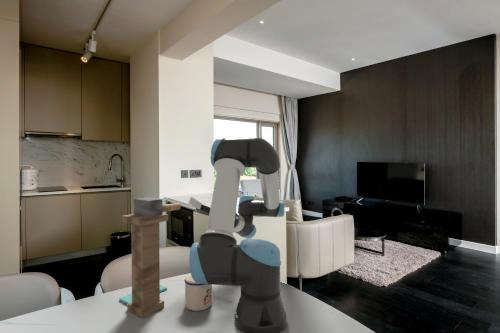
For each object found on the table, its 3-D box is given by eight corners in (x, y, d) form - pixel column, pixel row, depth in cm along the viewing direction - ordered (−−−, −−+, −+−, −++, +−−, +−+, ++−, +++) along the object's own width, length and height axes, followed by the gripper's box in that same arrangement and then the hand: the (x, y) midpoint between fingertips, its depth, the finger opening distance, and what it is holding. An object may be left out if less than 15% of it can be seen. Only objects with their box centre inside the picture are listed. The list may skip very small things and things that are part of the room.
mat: (166, 289, 109) (166, 287, 109) (129, 305, 97) (129, 303, 97) (156, 285, 113) (156, 283, 113) (119, 300, 101) (119, 298, 100)
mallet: (171, 208, 108) (171, 194, 108) (186, 210, 103) (186, 196, 103) (133, 214, 96) (133, 198, 96) (148, 217, 91) (148, 200, 91)
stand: (168, 306, 96) (168, 214, 96) (141, 320, 88) (140, 219, 88) (149, 298, 102) (149, 211, 102) (122, 310, 94) (121, 215, 94)
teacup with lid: (209, 312, 93) (209, 275, 93) (180, 311, 94) (180, 274, 93) (216, 295, 105) (216, 262, 105) (191, 294, 106) (191, 261, 105)
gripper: (252, 233, 122) (223, 214, 107) (209, 225, 137) (177, 207, 122) (258, 216, 125) (229, 195, 110) (214, 210, 140) (184, 190, 125)
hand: (202, 201), depth 116 cm, fingers open, 13 cm apart
